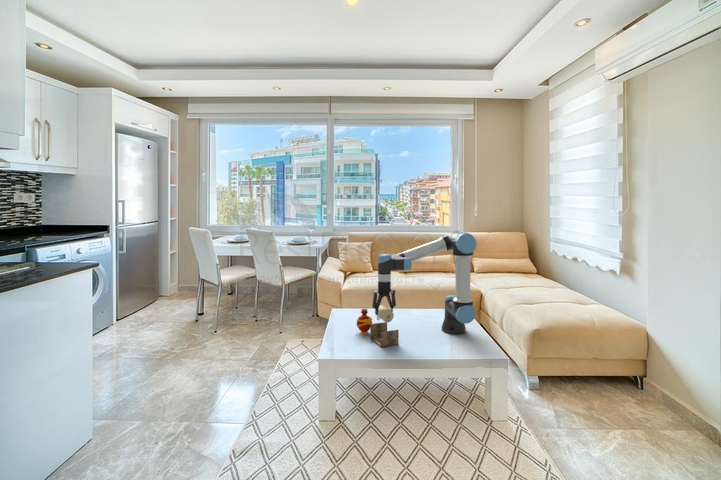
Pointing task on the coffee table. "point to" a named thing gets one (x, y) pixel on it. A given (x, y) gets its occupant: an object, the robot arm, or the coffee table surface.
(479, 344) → the coffee table surface
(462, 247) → the robot arm
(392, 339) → the holder
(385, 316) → the roll
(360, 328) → the potion bottle
